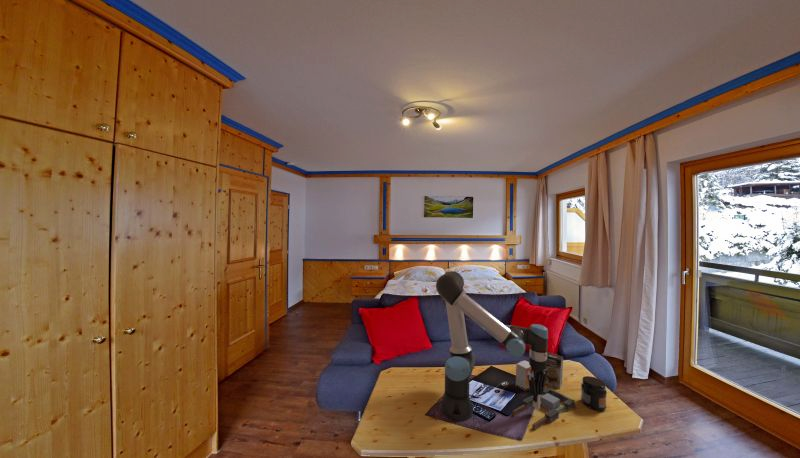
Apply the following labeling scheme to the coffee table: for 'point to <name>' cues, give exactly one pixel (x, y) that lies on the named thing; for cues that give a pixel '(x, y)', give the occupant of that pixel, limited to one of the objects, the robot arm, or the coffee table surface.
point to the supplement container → (593, 393)
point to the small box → (523, 374)
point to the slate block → (550, 401)
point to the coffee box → (554, 370)
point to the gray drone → (550, 415)
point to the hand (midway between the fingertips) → (536, 407)
